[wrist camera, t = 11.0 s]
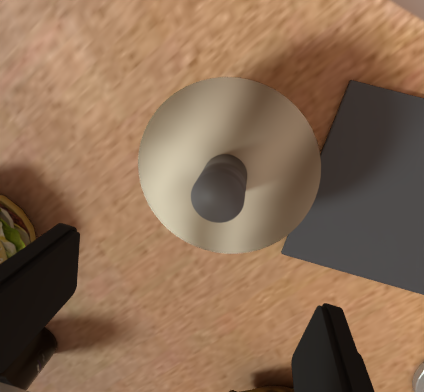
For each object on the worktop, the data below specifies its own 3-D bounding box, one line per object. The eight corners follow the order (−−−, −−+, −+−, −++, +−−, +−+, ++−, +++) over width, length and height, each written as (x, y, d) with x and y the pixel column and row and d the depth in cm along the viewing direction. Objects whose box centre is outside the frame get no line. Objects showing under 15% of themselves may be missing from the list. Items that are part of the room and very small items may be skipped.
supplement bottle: (65, 352, 46) (5, 438, 35) (31, 355, 48) (-37, 437, 37) (46, 319, 44) (-25, 399, 33) (11, 323, 46) (-68, 401, 35)
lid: (349, 104, 21) (380, 113, 16) (284, 265, 27) (290, 313, 22) (155, 55, 22) (121, 48, 17) (133, 223, 28) (102, 258, 23)
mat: (565, 135, 25) (571, 136, 25) (445, 298, 33) (447, 301, 32) (350, 80, 26) (351, 80, 26) (281, 251, 34) (281, 253, 33)
